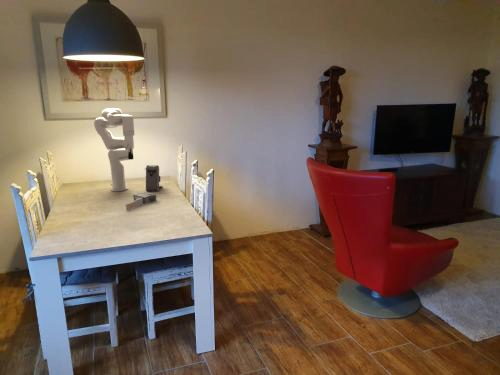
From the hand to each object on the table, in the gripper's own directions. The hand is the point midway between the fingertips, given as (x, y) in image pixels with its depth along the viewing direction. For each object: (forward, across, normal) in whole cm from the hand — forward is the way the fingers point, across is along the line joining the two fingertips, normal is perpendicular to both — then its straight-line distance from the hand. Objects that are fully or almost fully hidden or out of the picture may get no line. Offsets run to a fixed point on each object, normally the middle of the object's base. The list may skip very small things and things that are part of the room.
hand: (131, 159), depth 266 cm
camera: (+27, -17, +13) cm, 35 cm away
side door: (+27, +30, +5) cm, 40 cm away
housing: (+27, +15, +10) cm, 32 cm away
